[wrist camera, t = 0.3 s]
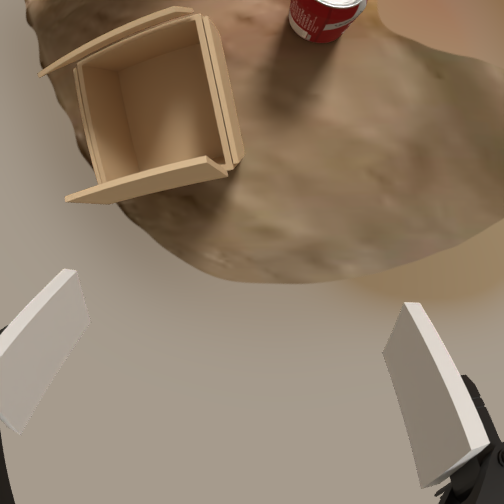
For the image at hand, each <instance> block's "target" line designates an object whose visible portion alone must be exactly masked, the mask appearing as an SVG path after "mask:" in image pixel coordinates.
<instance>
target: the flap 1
mask: <svg viewBox="0 0 504 504" xmlns="http://www.w3.org/2000/svg"><path fill="white" fill-rule="evenodd" d="M191 13H194V12H193V9H192V8H187V7H180V6H172V7H169V8H166V9H163V10H160V11H158V12H155V13H152V14H150V15H147V16H144V17H142V18H139V19H137V20H134V21H132V22H130V23H127V24H125V25H123V26H121V27H118V28H116V29H114V30H112V31H110V32H108V33H106V34H104V35H102V36H100V37H98V38H96V39H94V40H92V41H90V42H88V43H86V44H84V45H82V46H81V47H79V48H77V49H75V50H74V51H72V52H70V53H68V54H67V55H65V56H63V57H62V58H60V59H59V60H57V61H55V62H54V63H52V64H51V65H49V66H48V67H46V68H45V69H43V70H42V71H41V72H39V73H37V74H38V77H39V78H40V77H42V76H44V75H46V74H48V73H50V72H53V71H55V70H57V69H59V68H61V67H63V66H66V65H68V64H70V63H73V62H75V61H77V60H79V59H81V58H83V57H85V56H87V55H89V54H91V53H92V52H94V51H96V50H98V49H100V48H102V47H104V46H107V45H109V44H111V43H113V42H115V41H117V40H120V39H122V38H124V37H126V36H129V35H131V34H134V33H136V32H138V31H141V30H144V29H146V28H149V27H151V26H154V25H157V24H160V23H162V22H165V21H168V20H171V19H174V18H178V17H181V16H184V15H187V14H191Z"/></svg>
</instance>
